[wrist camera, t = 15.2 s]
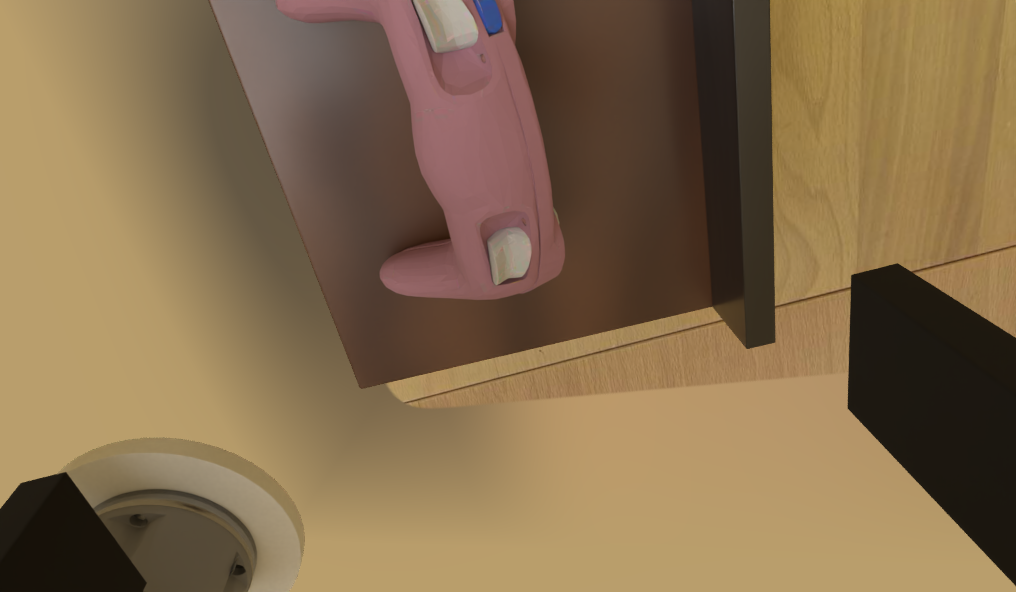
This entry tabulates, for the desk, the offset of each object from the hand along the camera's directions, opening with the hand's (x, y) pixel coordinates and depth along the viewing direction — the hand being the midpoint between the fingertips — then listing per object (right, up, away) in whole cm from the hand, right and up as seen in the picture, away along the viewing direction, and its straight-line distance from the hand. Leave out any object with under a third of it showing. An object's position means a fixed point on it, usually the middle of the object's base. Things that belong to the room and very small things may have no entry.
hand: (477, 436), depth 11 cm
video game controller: (-2, +8, +9) cm, 12 cm away
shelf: (0, +9, +10) cm, 14 cm away
